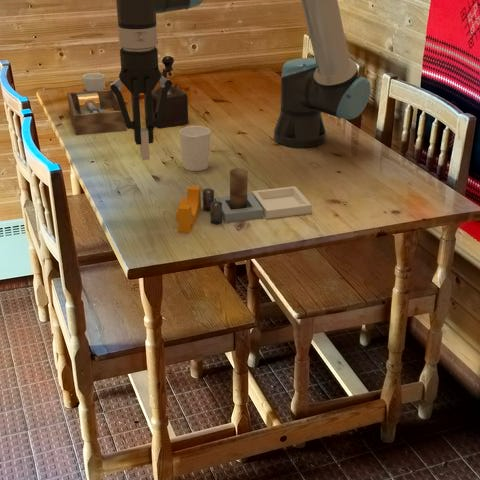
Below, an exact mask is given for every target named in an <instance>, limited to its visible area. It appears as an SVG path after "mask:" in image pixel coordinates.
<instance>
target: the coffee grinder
mask: <svg viewBox="0 0 480 480" xmlns="http://www.w3.org/2000/svg"><path fill="white" fill-rule="evenodd" d="M161 62H162V63H161V64H162V65H164V68H163V69H162V72H161V75H162V76H163V77H165V78H168V74H170V73H171V72H172V71H174V69H173V64H174V62H175V58H174V57H172V56H171V55H166V56H164V57H162V59H161ZM177 85H178V83H176V84H174V85H172V86H171V87H170V89H169V91H168V93H167V98H166V103H165V109H164V114H163V119H162V124H161V125H160V126H156V127H155V128H156V129H163V128H164V129H165V128H170V127H177V126H185V125H186V126H187V125H188V124H190V122H189V104H188V103H189V100H188V99H189V97H188V95H187V93H186V92H184V91H183V90H182V87H181V88H180V87H178V86H177ZM159 90H160V86H158V87H157V88H154V89H153V91H152V113H153V119H154V116H155V111H156V105H157V100H158V95H159Z"/></svg>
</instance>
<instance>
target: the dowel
mask: <svg viewBox="0 0 480 480" xmlns="http://www.w3.org/2000/svg"><path fill="white" fill-rule="evenodd" d="M248 174H249V173H248V170H247V169H245V168H240V167H239V168H232V169H231V170H230V171H229V196H230V209H231V210H234V209H242V208H247V194H248V182H249V181H248V177H249V175H248Z"/></svg>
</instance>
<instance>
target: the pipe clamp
mask: <svg viewBox="0 0 480 480" xmlns="http://www.w3.org/2000/svg"><path fill="white" fill-rule="evenodd" d="M186 193H187V196H186V197H181V200H180V201H179V203H178V206H177V208H176V209H177V210H176V213H175V219H176V221H177V228H178V229H177V230H178V233H188V234H190V233H191V231H192V230H193V227H194V225H195V222H196V221H197V219H198V216H199V214H200V213H201V209H202V208H201V207H202V205H201V204H202V202H201V201H202V199H201V197H202V196H201V186H199V185H189V186H188V187H187V192H186Z"/></svg>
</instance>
